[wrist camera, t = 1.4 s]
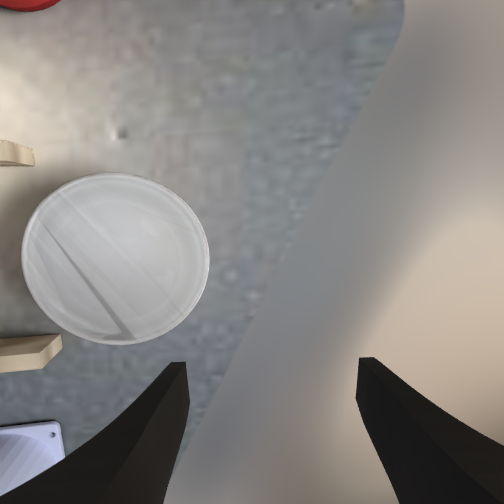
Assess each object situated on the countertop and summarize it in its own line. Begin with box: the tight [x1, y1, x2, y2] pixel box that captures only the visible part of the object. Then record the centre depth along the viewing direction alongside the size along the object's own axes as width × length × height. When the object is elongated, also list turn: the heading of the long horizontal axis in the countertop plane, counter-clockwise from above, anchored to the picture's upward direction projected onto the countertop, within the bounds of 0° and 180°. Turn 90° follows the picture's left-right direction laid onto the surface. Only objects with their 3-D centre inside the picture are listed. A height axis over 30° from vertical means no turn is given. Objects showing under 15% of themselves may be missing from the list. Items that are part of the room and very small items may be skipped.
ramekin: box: [21, 172, 209, 345], centre depth 21 cm, size 11×11×5 cm
